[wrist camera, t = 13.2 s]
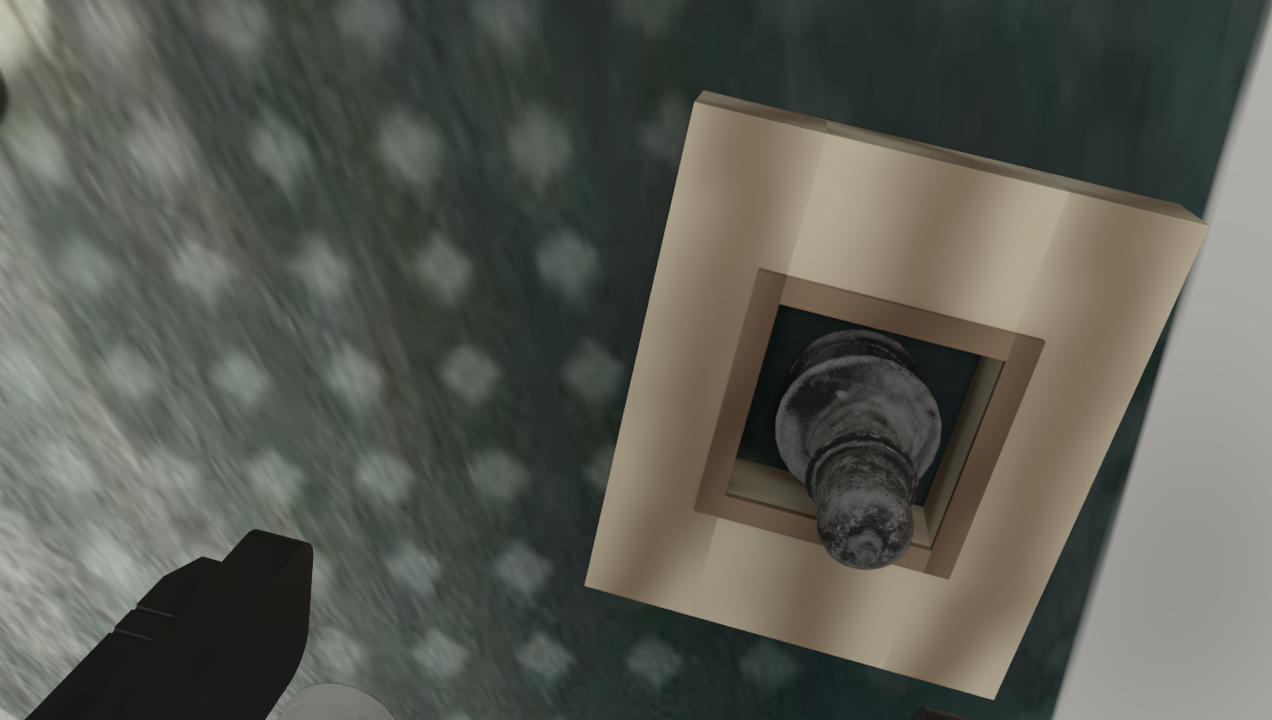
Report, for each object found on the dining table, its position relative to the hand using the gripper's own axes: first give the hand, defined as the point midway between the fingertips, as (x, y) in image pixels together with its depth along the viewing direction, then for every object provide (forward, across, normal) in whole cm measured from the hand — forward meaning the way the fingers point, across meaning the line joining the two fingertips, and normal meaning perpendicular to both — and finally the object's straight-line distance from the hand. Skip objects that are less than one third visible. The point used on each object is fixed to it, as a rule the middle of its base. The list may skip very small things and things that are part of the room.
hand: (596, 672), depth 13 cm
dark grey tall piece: (+27, -6, +7) cm, 28 cm away
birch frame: (+26, -7, +7) cm, 28 cm away
